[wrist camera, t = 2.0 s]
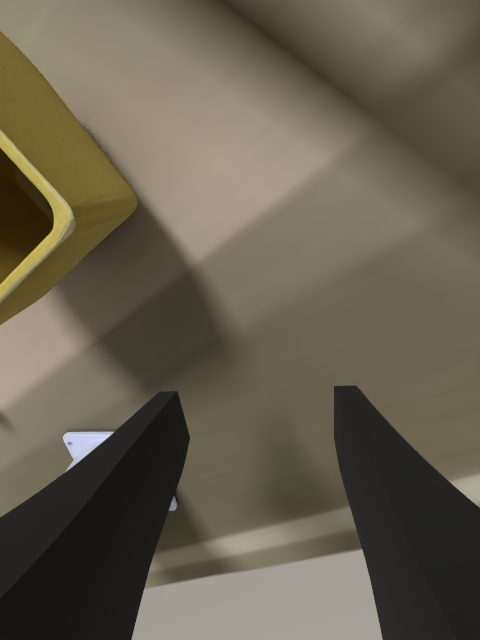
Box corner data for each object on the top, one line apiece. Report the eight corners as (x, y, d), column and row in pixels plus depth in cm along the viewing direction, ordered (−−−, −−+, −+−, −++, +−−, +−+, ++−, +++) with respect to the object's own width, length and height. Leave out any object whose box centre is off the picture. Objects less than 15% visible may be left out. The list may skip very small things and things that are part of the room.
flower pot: (-33, 166, 16) (-337, 149, 8) (58, 38, 13) (-277, -186, 5) (83, 289, 19) (-64, 368, 11) (181, 203, 16) (81, 222, 8)
